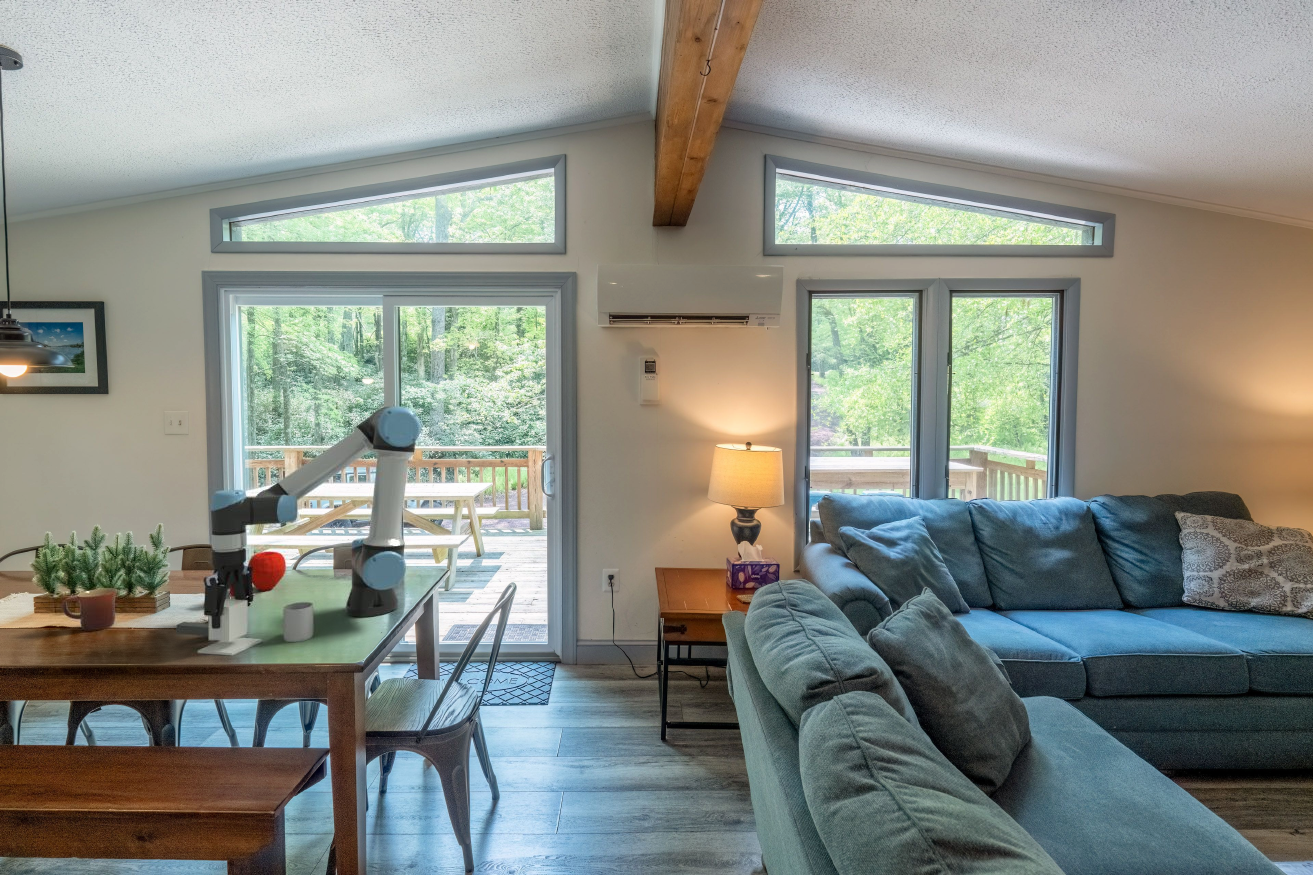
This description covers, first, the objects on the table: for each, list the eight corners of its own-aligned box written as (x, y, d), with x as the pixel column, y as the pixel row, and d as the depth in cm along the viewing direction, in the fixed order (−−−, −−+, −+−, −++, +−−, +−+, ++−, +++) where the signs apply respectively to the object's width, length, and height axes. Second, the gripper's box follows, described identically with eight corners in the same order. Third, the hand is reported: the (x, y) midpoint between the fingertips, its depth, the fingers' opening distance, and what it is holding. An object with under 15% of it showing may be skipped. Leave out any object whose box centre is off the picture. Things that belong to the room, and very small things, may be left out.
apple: (293, 587, 222) (293, 550, 221) (257, 596, 212) (257, 556, 211) (276, 582, 228) (275, 546, 228) (240, 590, 218) (240, 552, 218)
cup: (281, 643, 169) (281, 611, 169) (287, 631, 178) (287, 600, 178) (311, 640, 172) (311, 608, 172) (316, 628, 181) (315, 598, 181)
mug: (122, 620, 186) (121, 586, 186) (113, 630, 178) (112, 594, 178) (69, 626, 180) (68, 591, 180) (57, 636, 173) (56, 599, 172)
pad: (261, 641, 171) (261, 639, 171) (232, 655, 161) (231, 653, 161) (229, 638, 172) (229, 636, 172) (197, 652, 162) (197, 650, 162)
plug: (170, 635, 166) (170, 602, 165) (190, 628, 171) (190, 595, 171) (229, 641, 163) (229, 607, 163) (247, 633, 169) (247, 600, 169)
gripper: (244, 541, 175) (245, 622, 176) (184, 556, 157) (185, 647, 158) (269, 542, 174) (269, 624, 175) (211, 557, 156) (211, 649, 156)
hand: (229, 635), depth 166 cm, fingers closed on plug, 6 cm apart
